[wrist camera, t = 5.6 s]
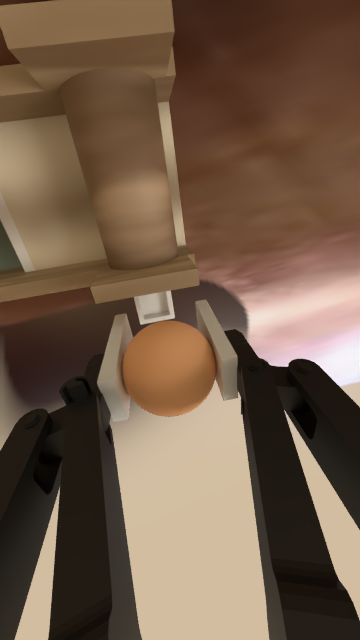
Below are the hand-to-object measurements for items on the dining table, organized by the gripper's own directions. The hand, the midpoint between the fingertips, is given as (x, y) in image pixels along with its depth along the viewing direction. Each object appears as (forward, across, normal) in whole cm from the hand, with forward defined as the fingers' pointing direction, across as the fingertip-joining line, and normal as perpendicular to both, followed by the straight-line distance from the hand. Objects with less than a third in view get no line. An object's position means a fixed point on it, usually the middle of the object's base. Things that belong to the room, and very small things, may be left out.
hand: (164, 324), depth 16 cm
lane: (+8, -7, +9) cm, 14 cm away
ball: (-5, 0, 0) cm, 5 cm away
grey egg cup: (+8, -1, 0) cm, 8 cm away
